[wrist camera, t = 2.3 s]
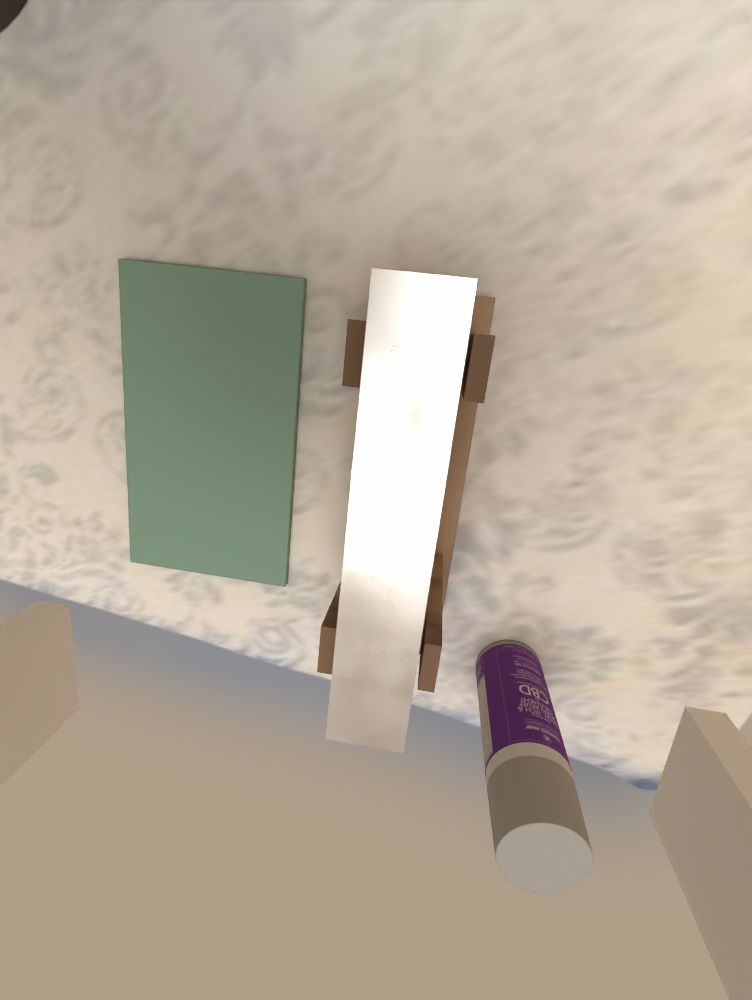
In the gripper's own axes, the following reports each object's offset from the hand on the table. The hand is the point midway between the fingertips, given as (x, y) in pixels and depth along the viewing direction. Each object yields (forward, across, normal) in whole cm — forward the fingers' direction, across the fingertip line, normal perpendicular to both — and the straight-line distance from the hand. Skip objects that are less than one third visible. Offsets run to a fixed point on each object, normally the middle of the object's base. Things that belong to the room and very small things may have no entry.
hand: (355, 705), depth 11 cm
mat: (+25, -14, 0) cm, 29 cm away
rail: (+15, 0, 0) cm, 15 cm away
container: (+25, +9, -15) cm, 30 cm away
